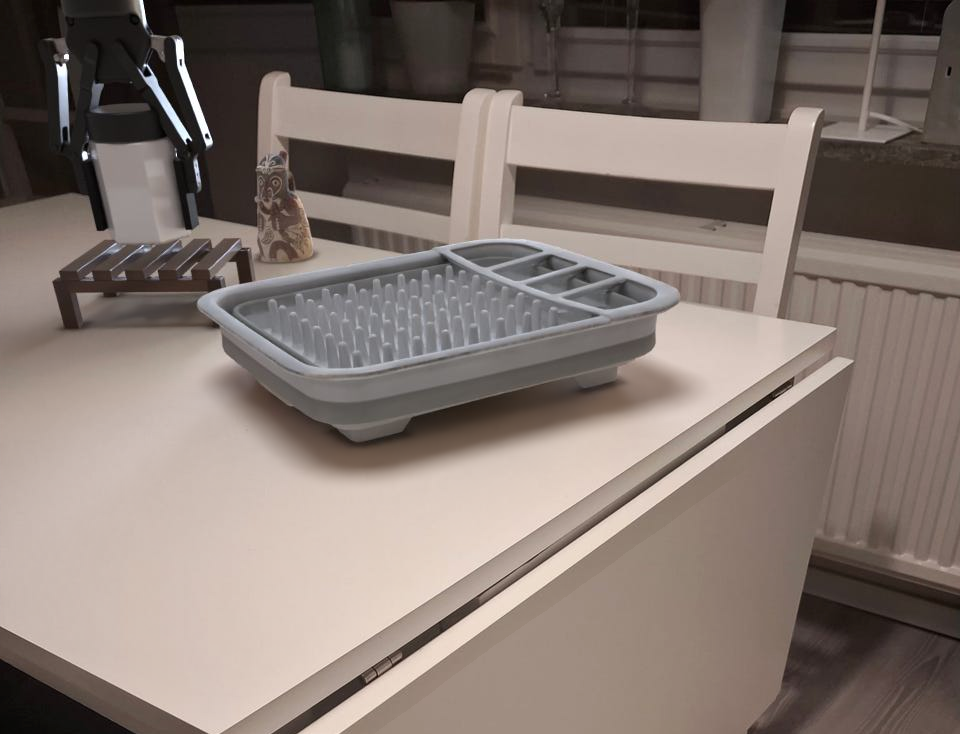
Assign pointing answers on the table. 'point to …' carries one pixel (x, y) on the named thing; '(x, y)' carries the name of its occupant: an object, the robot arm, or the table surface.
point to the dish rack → (436, 329)
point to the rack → (148, 271)
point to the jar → (135, 174)
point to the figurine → (280, 214)
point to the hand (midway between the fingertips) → (148, 227)
